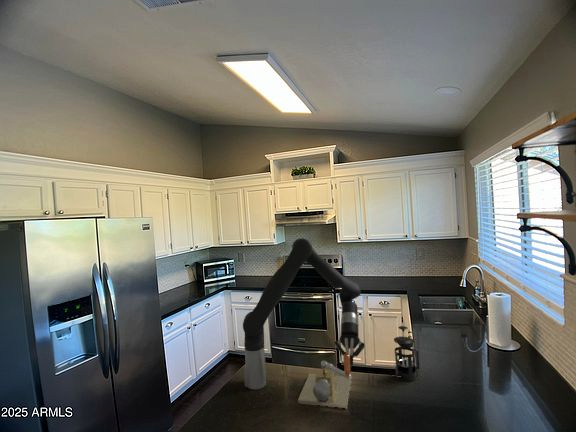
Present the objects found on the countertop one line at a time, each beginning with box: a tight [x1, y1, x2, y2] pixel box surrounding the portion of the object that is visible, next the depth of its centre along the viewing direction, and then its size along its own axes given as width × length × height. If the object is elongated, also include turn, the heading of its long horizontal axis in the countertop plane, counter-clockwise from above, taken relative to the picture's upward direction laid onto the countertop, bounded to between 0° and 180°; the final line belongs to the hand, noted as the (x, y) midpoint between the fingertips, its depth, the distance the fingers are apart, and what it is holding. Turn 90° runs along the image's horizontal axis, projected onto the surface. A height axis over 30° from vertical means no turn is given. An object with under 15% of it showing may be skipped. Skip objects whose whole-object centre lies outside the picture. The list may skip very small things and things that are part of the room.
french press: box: [393, 325, 420, 382], centre depth 143 cm, size 12×9×23 cm
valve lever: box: [320, 353, 353, 380], centre depth 127 cm, size 17×3×9 cm, turn 35°
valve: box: [297, 362, 352, 410], centre depth 134 cm, size 20×22×12 cm
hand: (349, 366), depth 122 cm, fingers closed
